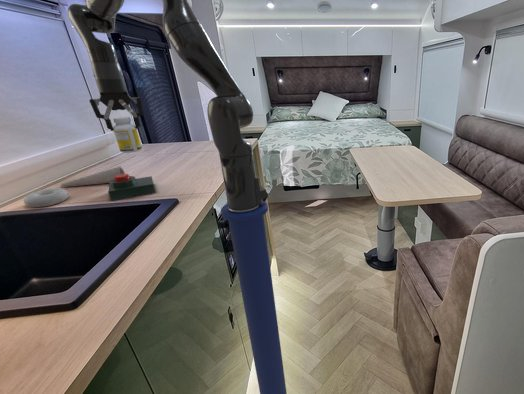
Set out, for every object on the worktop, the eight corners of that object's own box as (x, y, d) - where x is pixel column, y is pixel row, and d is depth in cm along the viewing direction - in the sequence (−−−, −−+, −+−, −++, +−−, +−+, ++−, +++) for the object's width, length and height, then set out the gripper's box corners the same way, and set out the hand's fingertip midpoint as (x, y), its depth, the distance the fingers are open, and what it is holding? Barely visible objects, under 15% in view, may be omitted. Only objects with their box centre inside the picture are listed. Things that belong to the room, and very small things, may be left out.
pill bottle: (141, 148, 108) (132, 116, 103) (143, 151, 103) (134, 118, 99) (119, 151, 104) (109, 117, 100) (121, 154, 99) (110, 119, 95)
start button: (130, 177, 99) (128, 172, 98) (130, 181, 96) (128, 176, 95) (115, 180, 96) (113, 175, 96) (115, 183, 93) (113, 178, 93)
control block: (153, 184, 106) (150, 171, 104) (155, 192, 98) (151, 178, 96) (112, 191, 99) (108, 177, 98) (111, 200, 92) (106, 186, 90)
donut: (33, 212, 85) (75, 199, 93) (27, 201, 83) (71, 189, 91) (21, 204, 89) (63, 193, 97) (16, 194, 88) (59, 184, 96)
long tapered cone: (49, 181, 97) (117, 167, 104) (57, 177, 103) (121, 165, 110) (57, 196, 99) (123, 182, 106) (65, 192, 104) (127, 179, 112)
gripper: (136, 77, 101) (149, 126, 107) (82, 77, 93) (99, 130, 100) (136, 77, 95) (150, 128, 102) (79, 77, 88) (97, 133, 94)
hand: (124, 129), depth 101 cm, fingers closed on pill bottle, 6 cm apart
